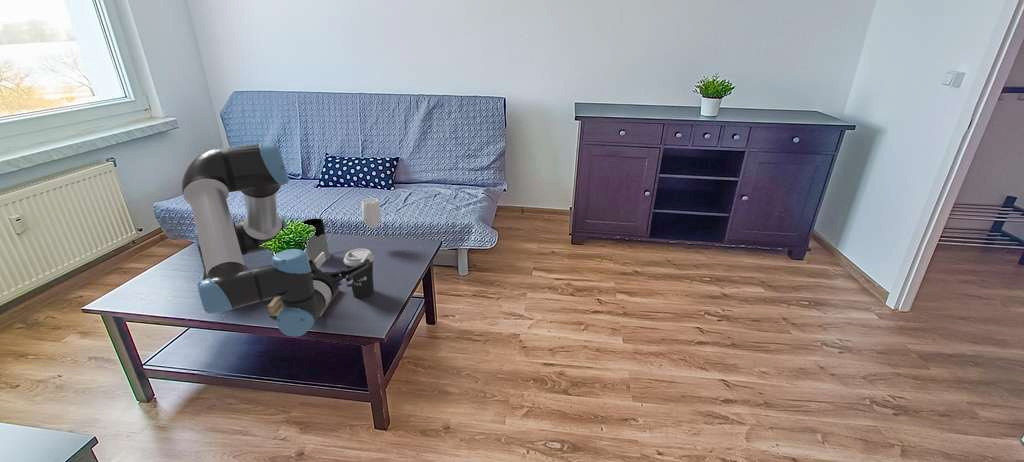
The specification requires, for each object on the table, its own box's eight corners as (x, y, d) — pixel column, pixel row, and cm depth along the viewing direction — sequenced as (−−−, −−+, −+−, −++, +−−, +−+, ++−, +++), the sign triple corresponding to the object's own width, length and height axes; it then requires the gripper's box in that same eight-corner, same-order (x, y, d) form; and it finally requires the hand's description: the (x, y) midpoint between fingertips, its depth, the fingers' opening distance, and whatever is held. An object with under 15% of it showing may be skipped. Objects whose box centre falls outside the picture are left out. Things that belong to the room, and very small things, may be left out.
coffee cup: (347, 289, 158) (341, 250, 152) (375, 284, 161) (371, 245, 155) (350, 303, 150) (344, 262, 144) (380, 297, 153) (375, 257, 147)
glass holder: (301, 260, 178) (294, 224, 172) (328, 246, 190) (322, 212, 184) (319, 264, 175) (312, 228, 169) (344, 249, 187) (339, 215, 181)
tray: (269, 315, 143) (267, 306, 142) (292, 289, 158) (290, 280, 156) (320, 316, 143) (318, 307, 141) (339, 290, 157) (337, 281, 156)
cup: (380, 253, 184) (375, 204, 176) (363, 252, 185) (357, 203, 177) (387, 245, 191) (382, 198, 183) (371, 244, 192) (365, 197, 183)
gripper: (273, 303, 121) (307, 266, 141) (367, 304, 121) (388, 267, 140) (267, 278, 118) (303, 244, 138) (364, 279, 118) (386, 245, 137)
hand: (346, 256), depth 139 cm, fingers open, 13 cm apart
